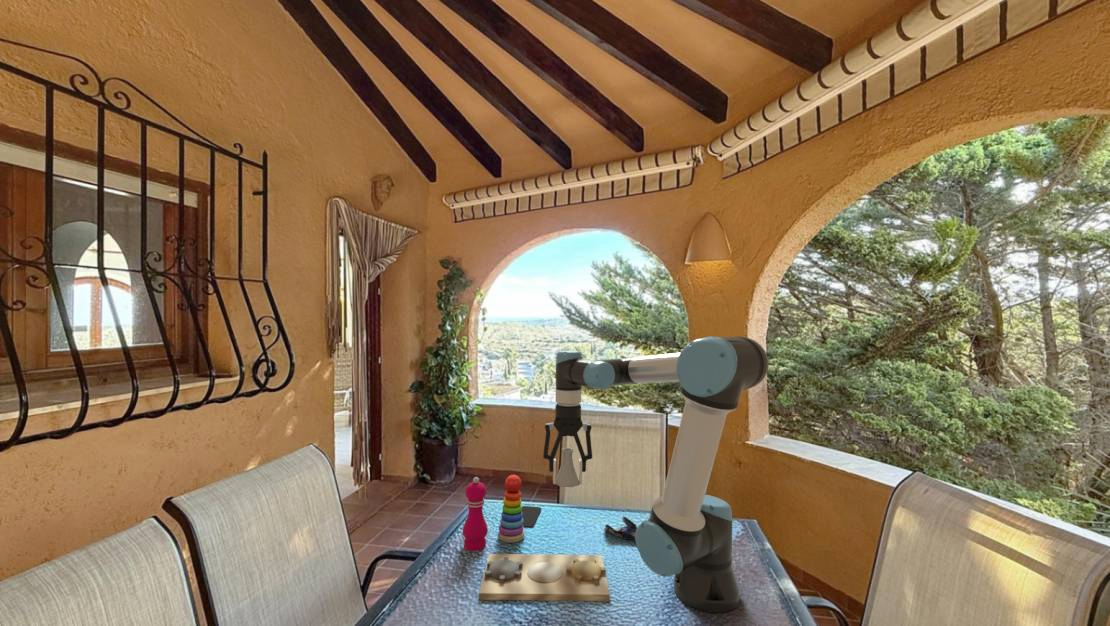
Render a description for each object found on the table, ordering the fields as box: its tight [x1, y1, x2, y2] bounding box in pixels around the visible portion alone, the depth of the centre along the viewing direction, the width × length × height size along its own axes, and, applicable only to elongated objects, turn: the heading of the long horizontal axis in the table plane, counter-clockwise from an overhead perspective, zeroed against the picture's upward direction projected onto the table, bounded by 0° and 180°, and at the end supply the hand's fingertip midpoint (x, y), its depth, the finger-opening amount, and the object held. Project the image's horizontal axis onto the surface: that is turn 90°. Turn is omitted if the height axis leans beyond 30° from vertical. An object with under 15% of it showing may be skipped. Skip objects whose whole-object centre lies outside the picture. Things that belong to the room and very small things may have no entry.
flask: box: [555, 447, 580, 488], centre depth 133 cm, size 7×7×10 cm
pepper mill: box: [462, 476, 489, 552], centre depth 133 cm, size 7×7×20 cm
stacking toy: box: [497, 474, 525, 544], centre depth 138 cm, size 8×8×19 cm
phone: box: [522, 505, 542, 529], centre depth 153 cm, size 7×1×15 cm
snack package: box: [603, 515, 638, 540], centre depth 140 cm, size 12×6×12 cm
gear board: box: [478, 553, 611, 602], centre depth 116 cm, size 31×18×3 cm, turn 90°
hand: (567, 482), depth 133 cm, fingers closed on flask, 7 cm apart
